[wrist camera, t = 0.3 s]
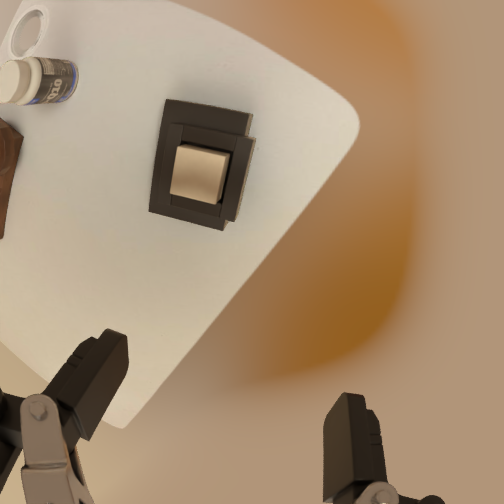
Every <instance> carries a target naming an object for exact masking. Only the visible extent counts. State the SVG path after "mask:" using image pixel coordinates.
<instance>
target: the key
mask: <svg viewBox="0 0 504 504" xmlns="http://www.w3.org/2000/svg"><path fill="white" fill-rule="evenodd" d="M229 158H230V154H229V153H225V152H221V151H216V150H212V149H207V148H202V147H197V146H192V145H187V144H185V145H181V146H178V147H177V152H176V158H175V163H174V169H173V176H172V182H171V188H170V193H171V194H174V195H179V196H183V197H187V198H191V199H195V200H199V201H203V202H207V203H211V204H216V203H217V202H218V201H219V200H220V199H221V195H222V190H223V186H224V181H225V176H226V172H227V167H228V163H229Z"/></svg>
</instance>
